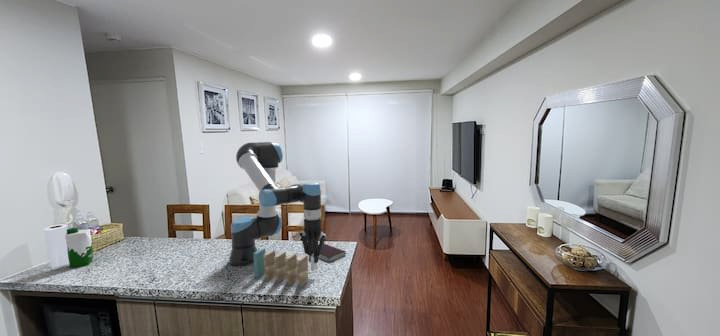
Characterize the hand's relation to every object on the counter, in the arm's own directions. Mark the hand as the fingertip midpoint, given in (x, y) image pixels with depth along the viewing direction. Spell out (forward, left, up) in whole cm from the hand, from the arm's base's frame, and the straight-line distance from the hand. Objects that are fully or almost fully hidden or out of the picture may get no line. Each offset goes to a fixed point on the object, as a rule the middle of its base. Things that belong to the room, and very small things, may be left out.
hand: (313, 269), depth 124 cm
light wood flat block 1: (-24, 0, -8) cm, 25 cm away
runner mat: (-17, 0, -8) cm, 19 cm away
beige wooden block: (-18, 0, -8) cm, 20 cm away
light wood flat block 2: (-12, 0, -8) cm, 14 cm away
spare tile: (-30, 0, -8) cm, 31 cm away
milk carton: (-130, -22, -8) cm, 132 cm away
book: (-11, +34, -9) cm, 37 cm away
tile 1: (-6, 0, -8) cm, 10 cm away
